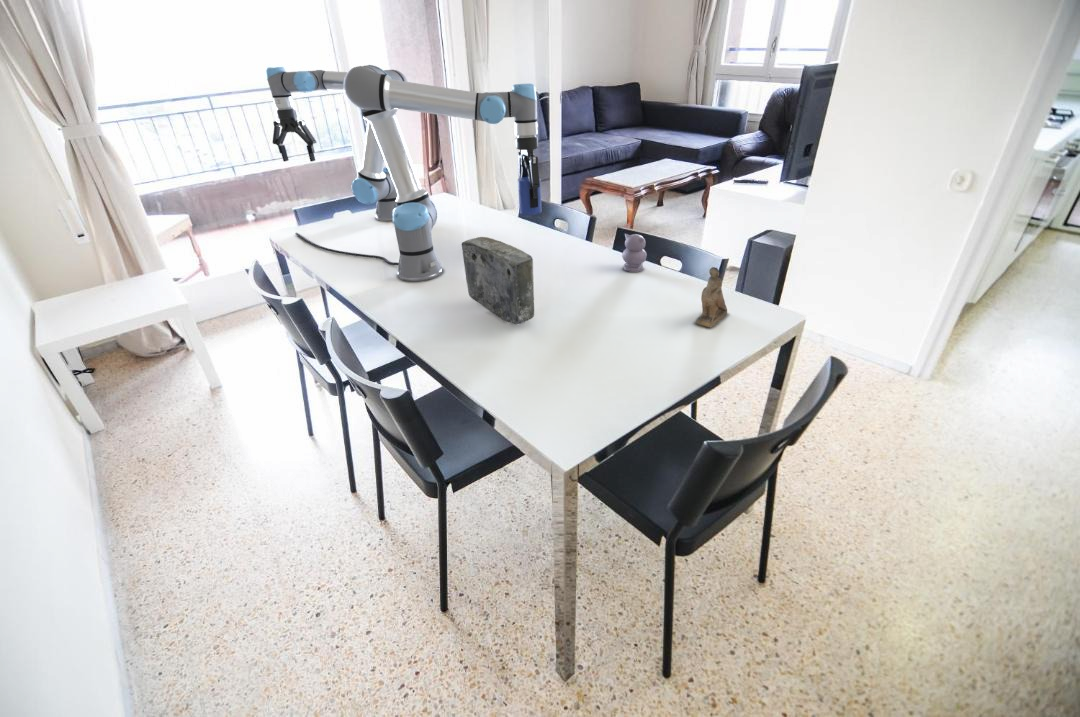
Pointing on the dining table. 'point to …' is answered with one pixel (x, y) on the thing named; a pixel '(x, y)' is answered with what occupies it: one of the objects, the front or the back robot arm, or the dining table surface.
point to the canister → (527, 197)
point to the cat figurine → (634, 253)
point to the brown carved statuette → (712, 301)
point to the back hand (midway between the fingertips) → (299, 161)
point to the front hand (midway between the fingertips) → (530, 204)
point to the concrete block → (500, 278)
